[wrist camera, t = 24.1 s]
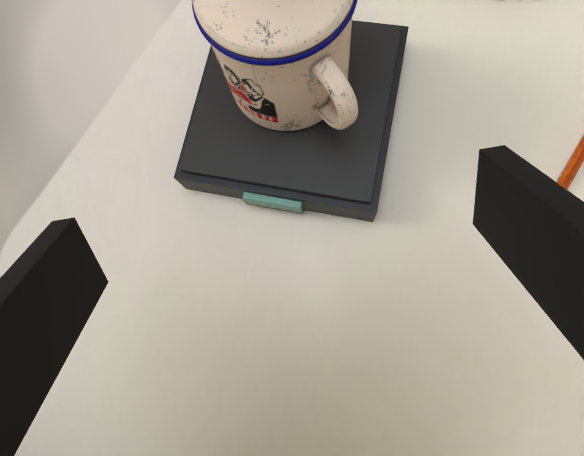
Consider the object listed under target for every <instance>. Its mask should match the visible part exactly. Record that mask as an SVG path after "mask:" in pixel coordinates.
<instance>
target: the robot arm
mask: <svg viewBox="0 0 584 456" xmlns="http://www.w3.org/2000/svg"><path fill="white" fill-rule="evenodd" d="M473 225H474V226H475V227H476V229H477V230H478V231H479V232H480V233H481V235H482V236H483V237H484V238H485V240H486V241H487V242H488V243H489V244H490V246H491V247H492V248H493V249H494V251H495V252H496V253H497V254H498V255H499V257H500V258H501V259H502V260H503V262H504V263H505V264H506V265H507V266H508V268H509V269H510V270H511V271H512V273H513V274H514V275H515V276H516V277H517V279H518V280H519V281H520V282H521V284H522V285H523V286H524V287H525V288H526V290H527V291H528V292H529V293H530V295H531V296H532V297H533V298H534V299H535V301H536V302H537V303H538V304H539V306H540V307H541V308H542V309H543V310H544V312H545V313H546V314H547V315H548V317H549V318H550V319H551V320H552V321H553V323H554V324H555V325H556V326H557V328H558V329H559V330H560V331H561V332H562V334H563V335H564V336H565V337H566V339H567V340H568V341H569V342H570V343H571V345H572V346H573V347H574V348H575V350H576V351H577V352H578V353H579V354H580V356H581V357H582V358H583V359H584V202H583V201H582V200H580V199H579V198H577V197H576V196H575V195H573V194H572V193H570V192H569V191H568V190H566V189H565V188H563V187H562V186H561V185H559V184H558V183H556V182H555V181H554V180H552V179H551V178H549V177H548V176H547V175H545V174H544V173H542V172H541V171H540V170H538V169H537V168H536V167H534V166H533V165H531V164H530V163H529V162H527V161H526V160H524V159H523V158H522V157H520V156H519V155H517V154H516V153H515V152H513V151H512V150H510V149H509V148H508V147H506V146H505V145H503V146H497V147H491V148H485V149H479V160H478V172H477V183H476V194H475V206H474V217H473ZM107 284H108V280H107V278H106V276H105V274H104V273H103V271H102V269H101V267H100V265H99V263H98V261H97V259H96V257H95V255H94V254H93V252H92V250H91V248H90V246H89V244H88V242H87V240H86V238H85V237H84V235H83V233H82V231H81V229H80V227H79V225H78V223H77V221H76V219H75V218H69V219H63V220H57V221H52V222H51V223H50V224H49V225H48V226H47V227H46V229H45V230H44V231H43V232H42V233H41V234H40V235H39V236H38V237H37V238H36V240H35V241H34V242H33V243H32V244H31V245H30V246H29V247H28V248H27V249H26V250H25V252H24V253H23V254H22V255H21V256H20V257H19V258H18V259H17V260H16V261H15V263H14V264H13V265H12V266H11V267H10V268H9V269H8V270H7V271H6V272H5V274H4V275H3V276H2V277H1V278H0V456H14V455H15V453H16V451H17V449H18V447H19V446H20V444H21V442H22V440H23V438H24V436H25V434H26V433H27V431H28V429H29V427H30V425H31V423H32V422H33V420H34V418H35V416H36V414H37V412H38V411H39V409H40V407H41V405H42V403H43V401H44V400H45V398H46V396H47V394H48V392H49V390H50V389H51V387H52V385H53V383H54V381H55V379H56V377H57V376H58V374H59V372H60V370H61V368H62V366H63V365H64V363H65V361H66V359H67V357H68V355H69V354H70V352H71V350H72V348H73V346H74V344H75V343H76V341H77V339H78V337H79V335H80V333H81V331H82V330H83V328H84V326H85V324H86V322H87V320H88V319H89V317H90V315H91V313H92V311H93V309H94V308H95V306H96V304H97V302H98V300H99V298H100V297H101V295H102V293H103V291H104V289H105V287H106V285H107Z"/></svg>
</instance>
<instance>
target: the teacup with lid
mask: <svg viewBox="0 0 584 456" xmlns="http://www.w3.org/2000/svg"><path fill="white" fill-rule="evenodd" d="M356 3H357V0H192V8H193V13H194V17H195V20H196V23H197V25H198V27H199V29H200V31H201V32H202V34H203V35H204V37H205V38H206V39H207V41H208V42H209V43H210V44H211V46H212V48H213V51H214V53H215V55H216V58H217V60H218V62H219V64H220V67H221V69H222V71H223V74H224V76H225V78H226V80H227V83H228V85H229V87H230V90H231V92H232V94H233V96H234V99H235V101H236V103H237V105H238V106H239V108H240V109H241V110H242V112H243V113H244V114H245V115H246V116H247V117H248V118H249V119H251V120H252V121H254V122H255V123H257V124H259V125H261V126H263V127H266V128H269V129H272V130H278V131H294V130H300V129H304V128H307V127H310V126H312V125H314V124H316V123H318V122H320V121H322V120H324V121H325V122H326V123H327V124H329V125H330V126H331V127H333V128H335V129H338V130H342V129H345V128H347V127H348V126H350V125H351V124H353V123H354V122H355V120H356V119H357V116H358V103H357V99H356V96H355V94H354V91H353V89H352V87H351V85H350V83H349V82H348V68H349V54H350V40H351V26H352V15H353V13H354V10H355V7H356Z"/></svg>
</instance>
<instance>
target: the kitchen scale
mask: <svg viewBox="0 0 584 456" xmlns="http://www.w3.org/2000/svg"><path fill="white" fill-rule="evenodd" d="M407 32H408V27H407V26H398V25H389V24H380V23H371V22H362V21H353V20H352V26H351V40H350V54H349V68H348V82H349V83H350V85H351V87H352V89H353V91H354V94H355V96H356V99H357V103H358V116H357V119H356V120H355V122H354V123H353V124H351V125H350V126H348V127H347V128H345V129H342V130H338V129H335V128H333V127H331V126H330V125H329V124H327V123H326V122H325V121H324V120H322V121H320V122H318V123H316V124H314V125H312V126H310V127H307V128H304V129H300V130H294V131H278V130H272V129H269V128H266V127H263V126H261V125H259V124H257V123H255V122H254V121H252V120H251V119H249V118H248V117H247V116H246V115H245V114H244V113H243V112H242V110H241V109H240V108H239V106H238V105H237V103H236V101H235V99H234V96H233V94H232V92H231V90H230V87H229V85H228V83H227V80H226V78H225V76H224V74H223V71H222V69H221V67H220V64H219V62H218V60H217V58H216V55H215V53H214V51H213V48H212V46H211V48H210V51H209V55H208V58H207V62H206V65H205V69H204V72H203V76H202V79H201V83H200V87H199V90H198V94H197V97H196V101H195V104H194V108H193V111H192V115H191V119H190V122H189V126H188V129H187V133H186V136H185V140H184V143H183V147H182V150H181V154H180V158H179V161H178V165H177V168H176V172H175V175H174V178H175V179H176V180H177V181H178V182H179V183H181V184H182V185H183V186H184V187H185V188H186V189H191V190H197V191H203V192H208V193H214V194H220V195H225V196H231V197H236V198H242V199H244V201H245V202H246V203H248V204H253V205H259V206H264V207H270V208H276V209H281V210H287V211H292V212H298V213H302V210H303V209H304V210H309V211H315V212H321V213H326V214H332V215H338V216H343V217H349V218H354V219H360V220H366V221H371V222H373V220H374V217H375V215H376V213H377V207H378V201H379V195H380V190H381V184H382V178H383V172H384V166H385V160H386V155H387V149H388V143H389V137H390V131H391V126H392V120H393V114H394V108H395V102H396V96H397V91H398V85H399V79H400V73H401V67H402V61H403V56H404V50H405V44H406V38H407Z"/></svg>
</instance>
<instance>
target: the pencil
mask: <svg viewBox="0 0 584 456" xmlns="http://www.w3.org/2000/svg"><path fill="white" fill-rule="evenodd" d="M583 161H584V137H583V139H582V141H581V143H580V144H579V146H578V148H577V150H576V151H575V153H574V155H573V157H572V158H571V160H570V162H569V164H568V165H567V167H566V169H565V171H564V172H563V174H562V176H561V177H560V179H559V181H558V184H559V185H561V186H562V187H563V188H565V189H566V190H567V189H568V187H569V186H570V184H571V182H572V180H573V179H574V177H575V175H576V173H577V172H578V170H579V168H580V166H581V164H582V163H583Z"/></svg>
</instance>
